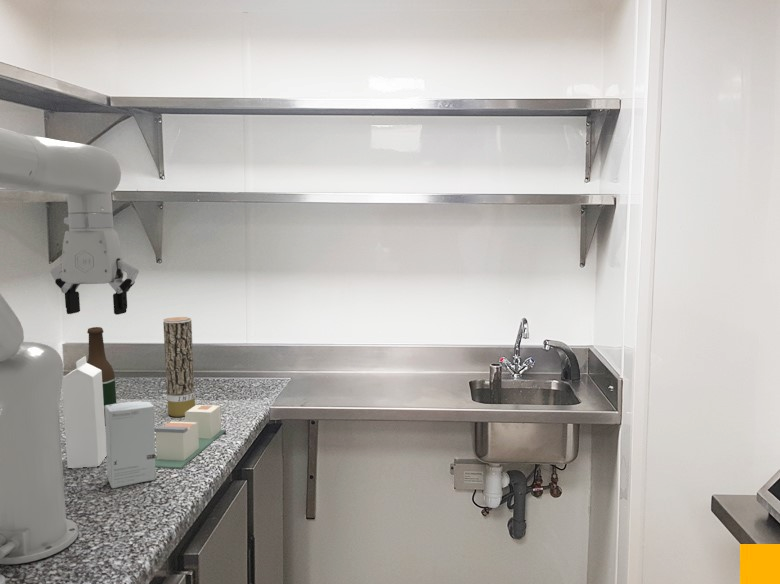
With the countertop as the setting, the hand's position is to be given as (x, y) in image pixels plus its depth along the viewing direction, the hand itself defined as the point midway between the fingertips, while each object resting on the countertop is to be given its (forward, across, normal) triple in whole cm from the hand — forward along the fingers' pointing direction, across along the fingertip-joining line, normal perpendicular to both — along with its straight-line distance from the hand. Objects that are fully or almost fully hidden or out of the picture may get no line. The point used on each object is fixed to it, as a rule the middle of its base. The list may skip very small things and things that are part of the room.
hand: (96, 313), depth 119 cm
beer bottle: (+32, -21, +31) cm, 50 cm away
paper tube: (+32, -4, +40) cm, 52 cm away
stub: (+32, +9, +25) cm, 41 cm away
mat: (+32, +9, +16) cm, 37 cm away
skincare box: (+32, +6, -1) cm, 33 cm away
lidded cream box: (+32, +9, +12) cm, 36 cm away
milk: (+32, -8, +6) cm, 34 cm away
